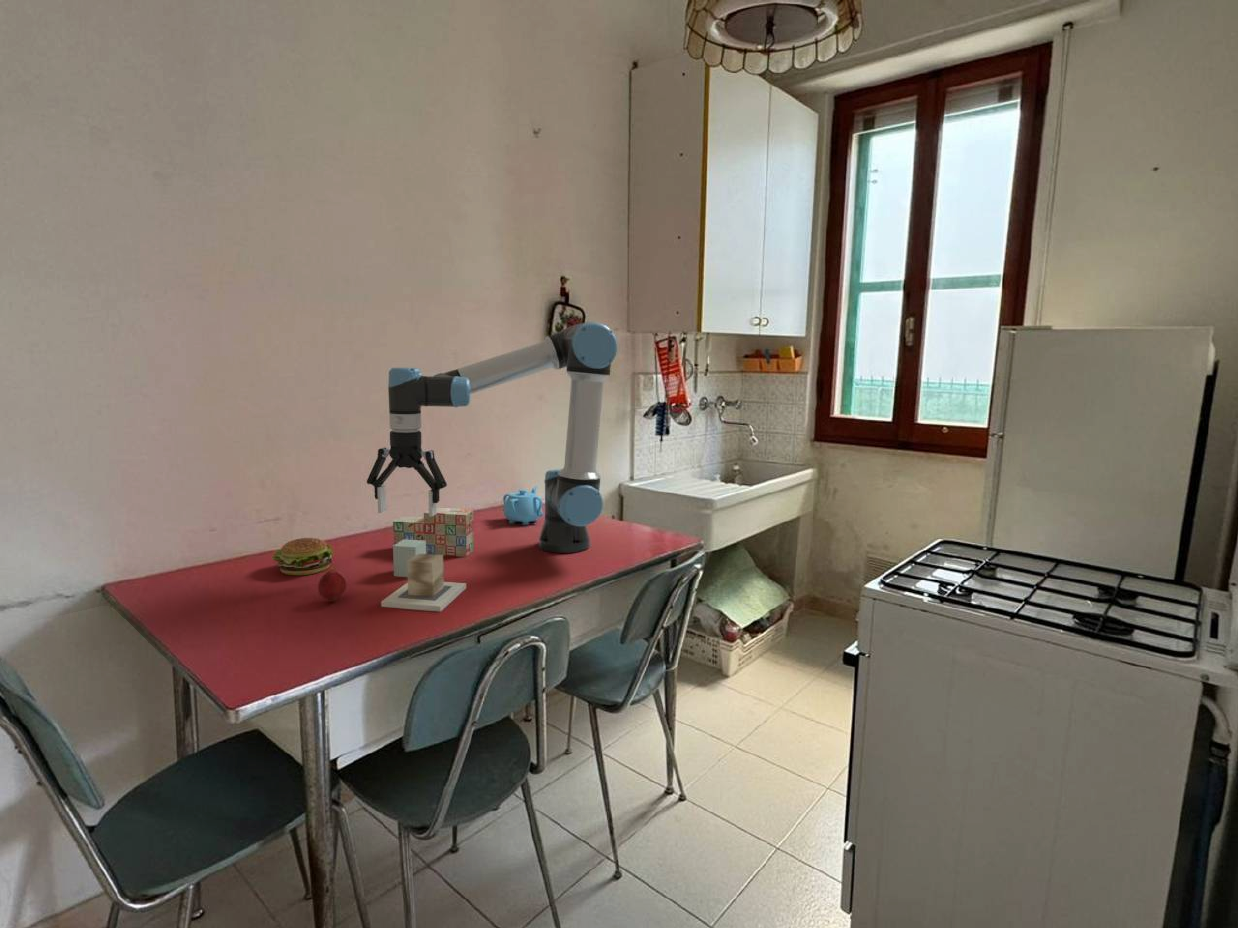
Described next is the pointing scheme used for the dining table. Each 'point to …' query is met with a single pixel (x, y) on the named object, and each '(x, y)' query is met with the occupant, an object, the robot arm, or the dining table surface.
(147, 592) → the dining table surface
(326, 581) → the onion
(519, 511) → the teapot
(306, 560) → the food
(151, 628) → the dining table surface
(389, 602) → the white square base plate
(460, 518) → the stack of blocks
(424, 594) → the beech block
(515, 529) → the dining table surface
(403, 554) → the sage block
